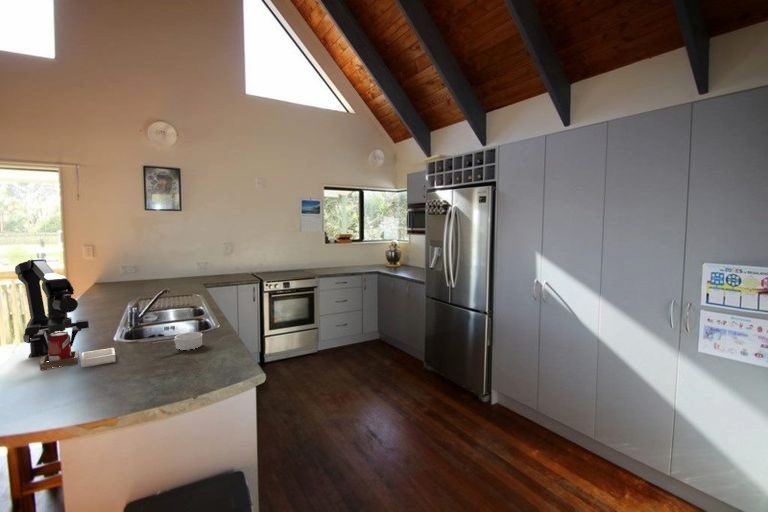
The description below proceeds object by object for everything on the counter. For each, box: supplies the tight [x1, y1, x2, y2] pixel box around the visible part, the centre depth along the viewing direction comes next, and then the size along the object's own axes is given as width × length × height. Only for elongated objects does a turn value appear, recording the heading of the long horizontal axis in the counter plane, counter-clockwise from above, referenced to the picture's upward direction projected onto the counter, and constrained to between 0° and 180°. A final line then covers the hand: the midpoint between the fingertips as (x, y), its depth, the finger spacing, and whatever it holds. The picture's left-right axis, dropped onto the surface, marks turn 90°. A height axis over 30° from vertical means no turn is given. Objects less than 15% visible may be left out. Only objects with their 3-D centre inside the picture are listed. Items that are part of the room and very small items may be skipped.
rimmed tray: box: [80, 347, 116, 368], centre depth 149 cm, size 11×11×3 cm
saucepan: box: [152, 331, 204, 351], centre depth 163 cm, size 12×20×6 cm, turn 138°
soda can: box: [48, 331, 72, 362], centre depth 146 cm, size 7×7×12 cm
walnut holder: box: [39, 350, 80, 371], centre depth 146 cm, size 11×11×2 cm
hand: (59, 348), depth 146 cm, fingers closed on soda can, 7 cm apart
